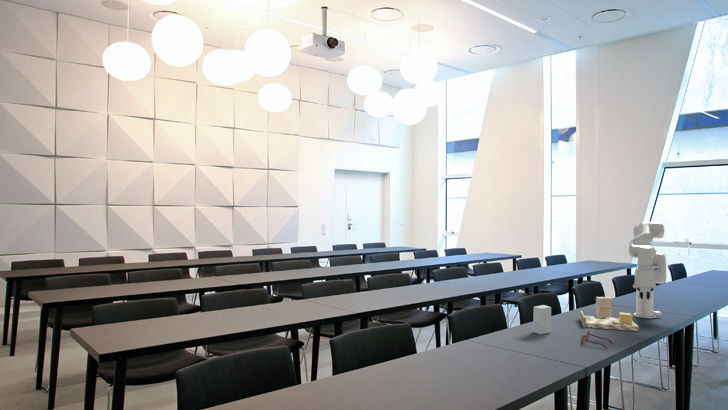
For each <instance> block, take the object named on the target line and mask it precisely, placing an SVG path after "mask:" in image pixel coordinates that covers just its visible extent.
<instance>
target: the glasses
mask: <svg viewBox="0 0 728 410" xmlns="http://www.w3.org/2000/svg"><path fill="white" fill-rule="evenodd" d="M590 336H591V337H594V338H598V339H599V340H605V341H608V342H609V343H611V344H612V343H613V344H614V342H613V341H612V340H610V338H606V337H602V336H601V337H600V336H598V335H595V334H592V333H590V331H587V332H586V334H583V335H582V337H581V341H580V344H581V345H583V344H584V342H585V341H586V342H588V343H591V344H593V345H601V346H603V347H604V349H606V350H609V349H608V347H607V346H606V345H605V344H604V343H600V342H595V341H592V340H589V337H590Z"/></svg>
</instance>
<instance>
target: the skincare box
mask: <svg viewBox="0 0 728 410" xmlns="http://www.w3.org/2000/svg"><path fill="white" fill-rule="evenodd" d="M532 309H533V310H532V311H533V320H532V321H533V325H532V326H533V328H532V329H533V331H532V332H533V333H536V334H538V335H543V334H544V335H545V334H550V333H552V307H551V306H548V305H546V304H541V305H536V306H533V308H532Z"/></svg>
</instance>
